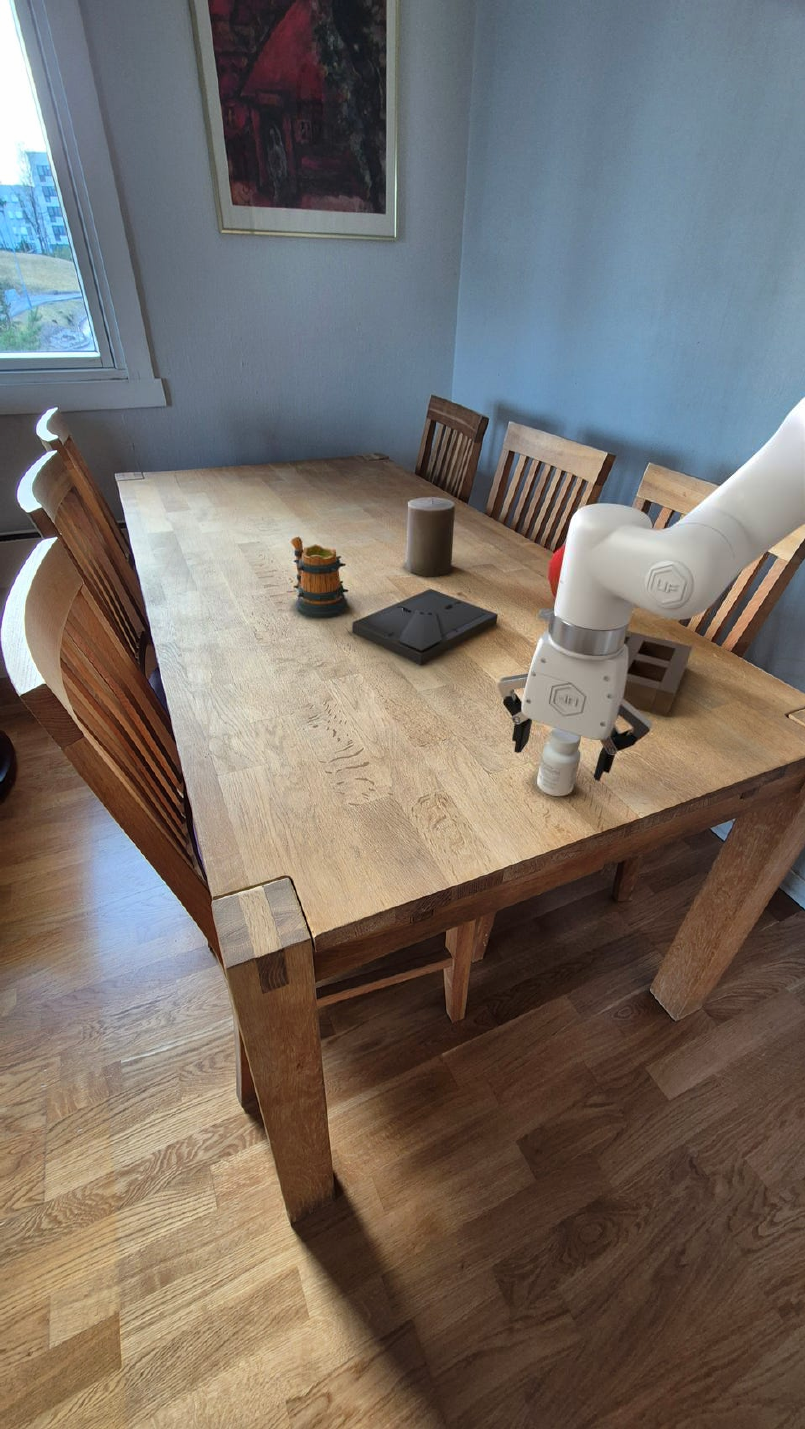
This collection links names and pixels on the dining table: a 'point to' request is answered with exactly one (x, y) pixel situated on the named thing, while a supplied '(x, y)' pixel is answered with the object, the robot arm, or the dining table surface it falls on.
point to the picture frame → (424, 625)
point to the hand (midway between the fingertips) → (559, 759)
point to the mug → (318, 581)
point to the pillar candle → (430, 536)
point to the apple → (556, 570)
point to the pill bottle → (559, 763)
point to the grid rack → (653, 672)
